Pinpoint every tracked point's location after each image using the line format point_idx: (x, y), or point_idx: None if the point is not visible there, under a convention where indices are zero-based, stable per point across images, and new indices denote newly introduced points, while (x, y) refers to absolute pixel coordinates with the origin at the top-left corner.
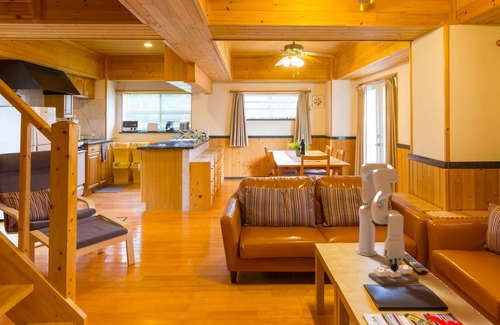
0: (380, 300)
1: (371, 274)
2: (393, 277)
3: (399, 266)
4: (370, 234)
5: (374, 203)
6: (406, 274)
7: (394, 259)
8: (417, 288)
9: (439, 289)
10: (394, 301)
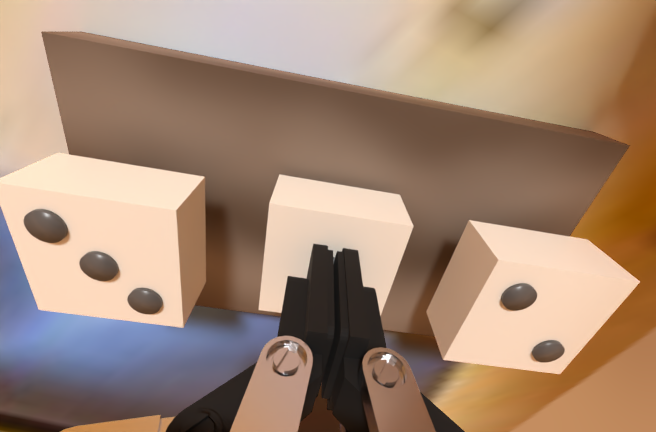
0: (13, 377)
1: (75, 84)
2: None
3: (485, 274)
4: None
5: None
6: None
7: (375, 428)
8: None
9: (487, 406)
10: (101, 403)
